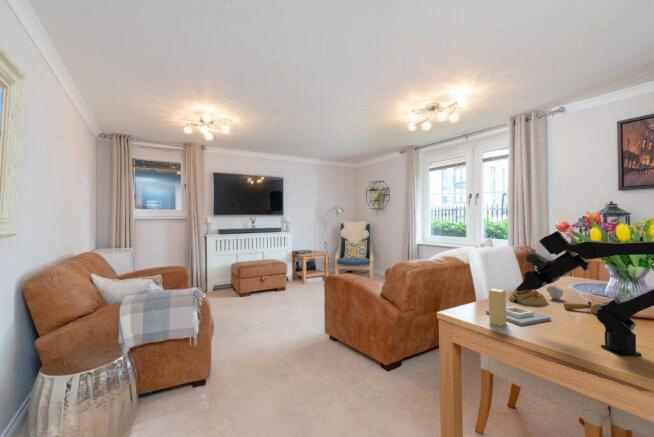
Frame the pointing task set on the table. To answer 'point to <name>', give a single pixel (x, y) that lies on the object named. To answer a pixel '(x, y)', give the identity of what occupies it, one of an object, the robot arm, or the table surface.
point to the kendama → (583, 306)
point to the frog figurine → (554, 292)
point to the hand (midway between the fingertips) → (522, 287)
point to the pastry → (528, 297)
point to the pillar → (497, 307)
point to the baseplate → (523, 316)
